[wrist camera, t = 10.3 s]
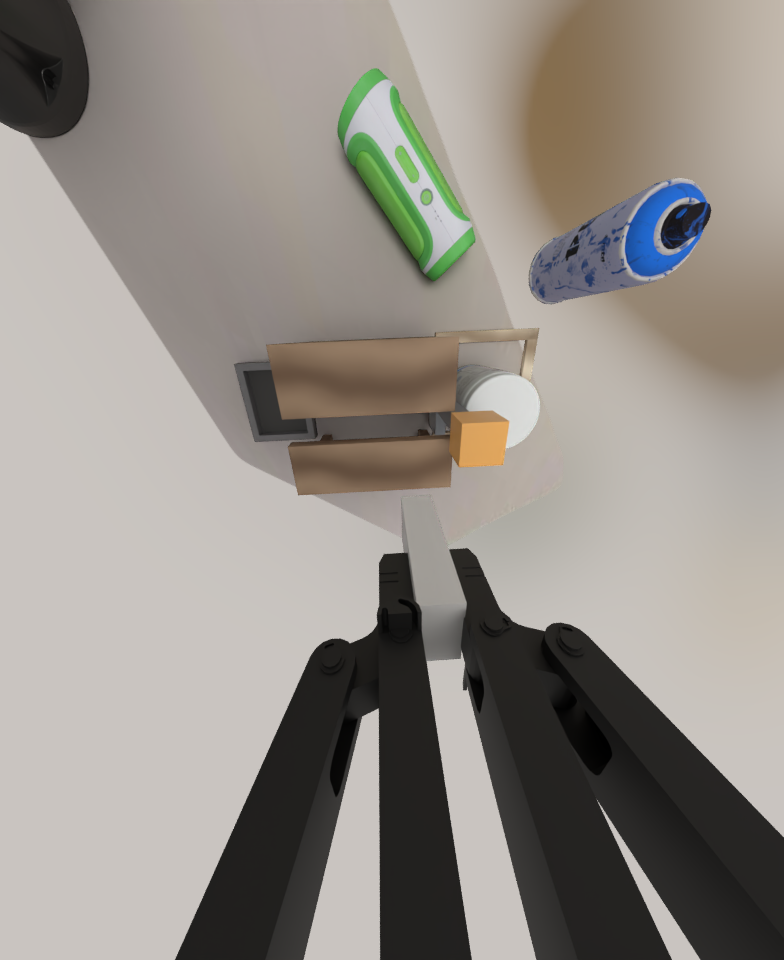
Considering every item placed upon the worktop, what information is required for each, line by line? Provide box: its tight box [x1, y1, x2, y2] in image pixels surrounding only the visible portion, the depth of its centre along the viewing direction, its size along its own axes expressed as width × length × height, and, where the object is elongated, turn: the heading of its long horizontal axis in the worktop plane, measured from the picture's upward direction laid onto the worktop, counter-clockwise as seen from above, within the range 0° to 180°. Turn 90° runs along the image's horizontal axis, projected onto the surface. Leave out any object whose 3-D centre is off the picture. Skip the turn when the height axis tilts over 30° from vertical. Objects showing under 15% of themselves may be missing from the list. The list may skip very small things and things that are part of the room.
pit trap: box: [234, 362, 317, 442], centre depth 46 cm, size 12×10×2 cm
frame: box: [433, 328, 539, 435], centre depth 47 cm, size 17×16×1 cm
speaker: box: [338, 68, 475, 281], centre depth 33 cm, size 18×7×8 cm, turn 41°
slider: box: [429, 401, 509, 467], centre depth 36 cm, size 12×4×24 cm, turn 2°
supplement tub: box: [456, 365, 540, 449], centre depth 41 cm, size 10×10×15 cm
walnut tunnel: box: [266, 336, 459, 495], centre depth 39 cm, size 16×18×18 cm
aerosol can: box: [529, 178, 711, 304], centre depth 32 cm, size 8×8×20 cm
